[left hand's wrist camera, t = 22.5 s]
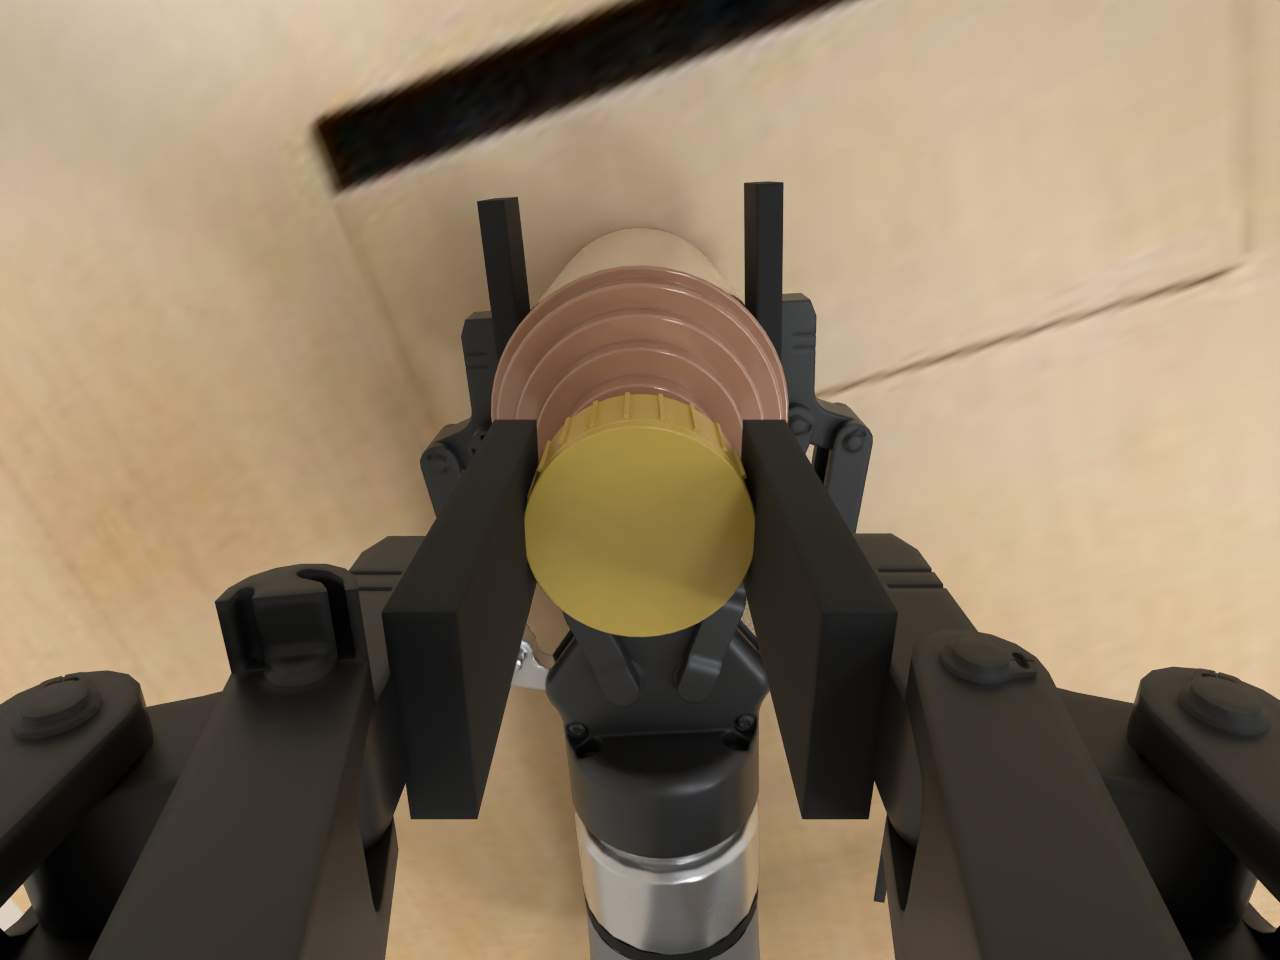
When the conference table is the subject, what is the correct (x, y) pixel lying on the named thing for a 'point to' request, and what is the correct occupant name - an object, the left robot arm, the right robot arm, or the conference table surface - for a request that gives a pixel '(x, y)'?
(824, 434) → the right robot arm
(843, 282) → the conference table surface
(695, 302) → the bottle
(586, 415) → the cap
